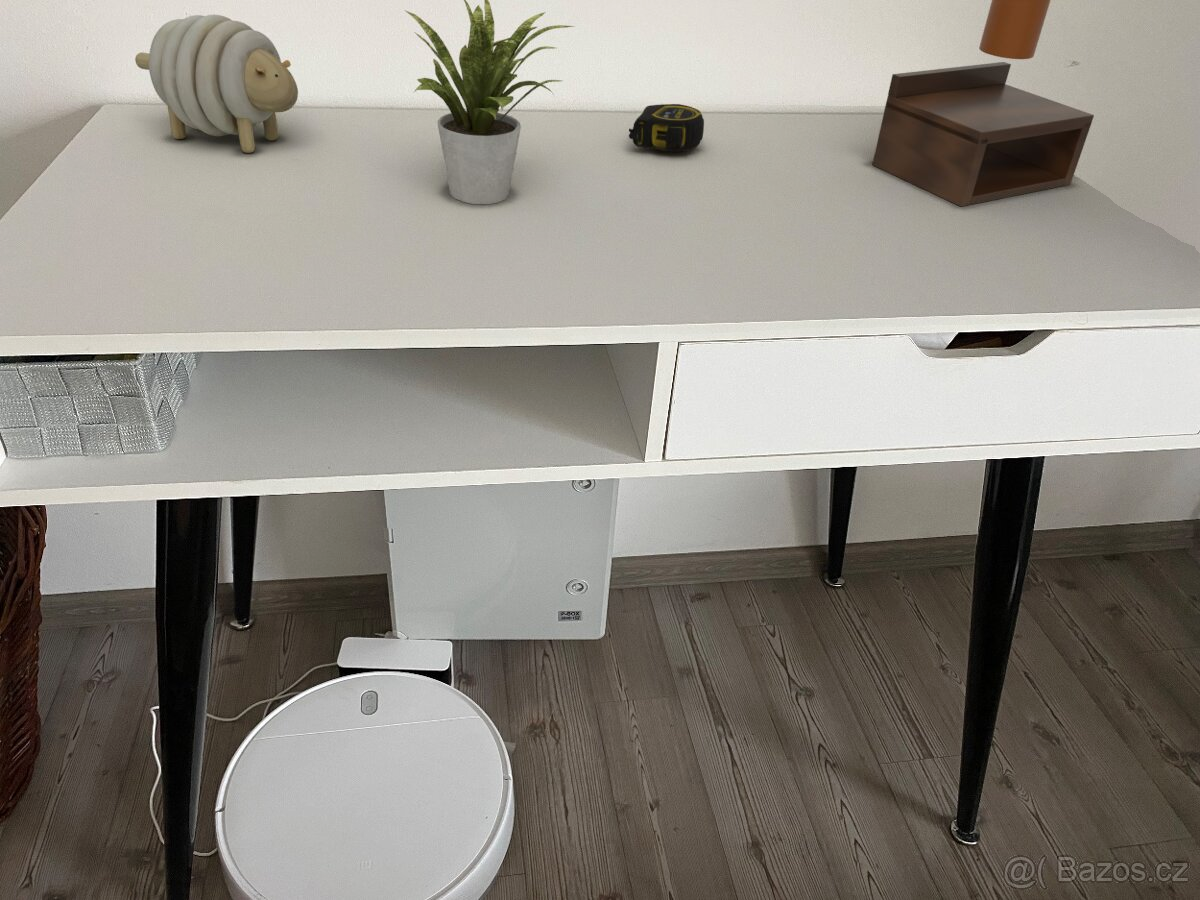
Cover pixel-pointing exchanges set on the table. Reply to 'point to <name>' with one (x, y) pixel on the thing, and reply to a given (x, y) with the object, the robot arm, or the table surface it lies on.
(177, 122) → the toy sheep
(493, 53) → the house plant
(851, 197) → the table surface
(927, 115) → the box
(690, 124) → the tape measure
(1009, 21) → the bottle
